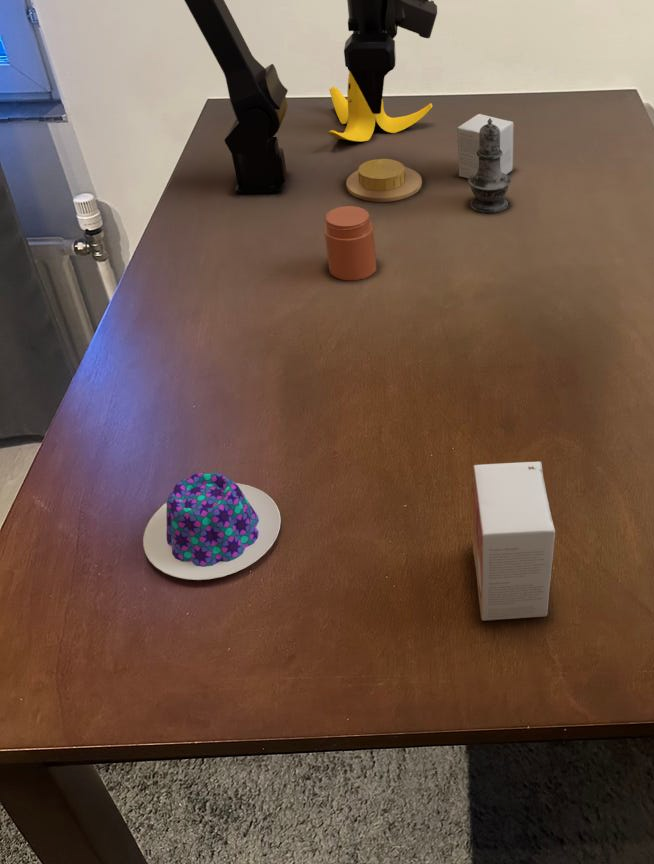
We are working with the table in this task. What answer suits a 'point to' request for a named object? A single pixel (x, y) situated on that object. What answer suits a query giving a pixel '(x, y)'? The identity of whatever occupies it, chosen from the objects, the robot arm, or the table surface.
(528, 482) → the small box
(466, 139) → the product box
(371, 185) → the jar lid
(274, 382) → the table surface
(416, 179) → the coaster
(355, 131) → the banana peel
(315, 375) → the table surface
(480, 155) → the grey tall turned piece
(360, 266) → the jar
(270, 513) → the pudding
